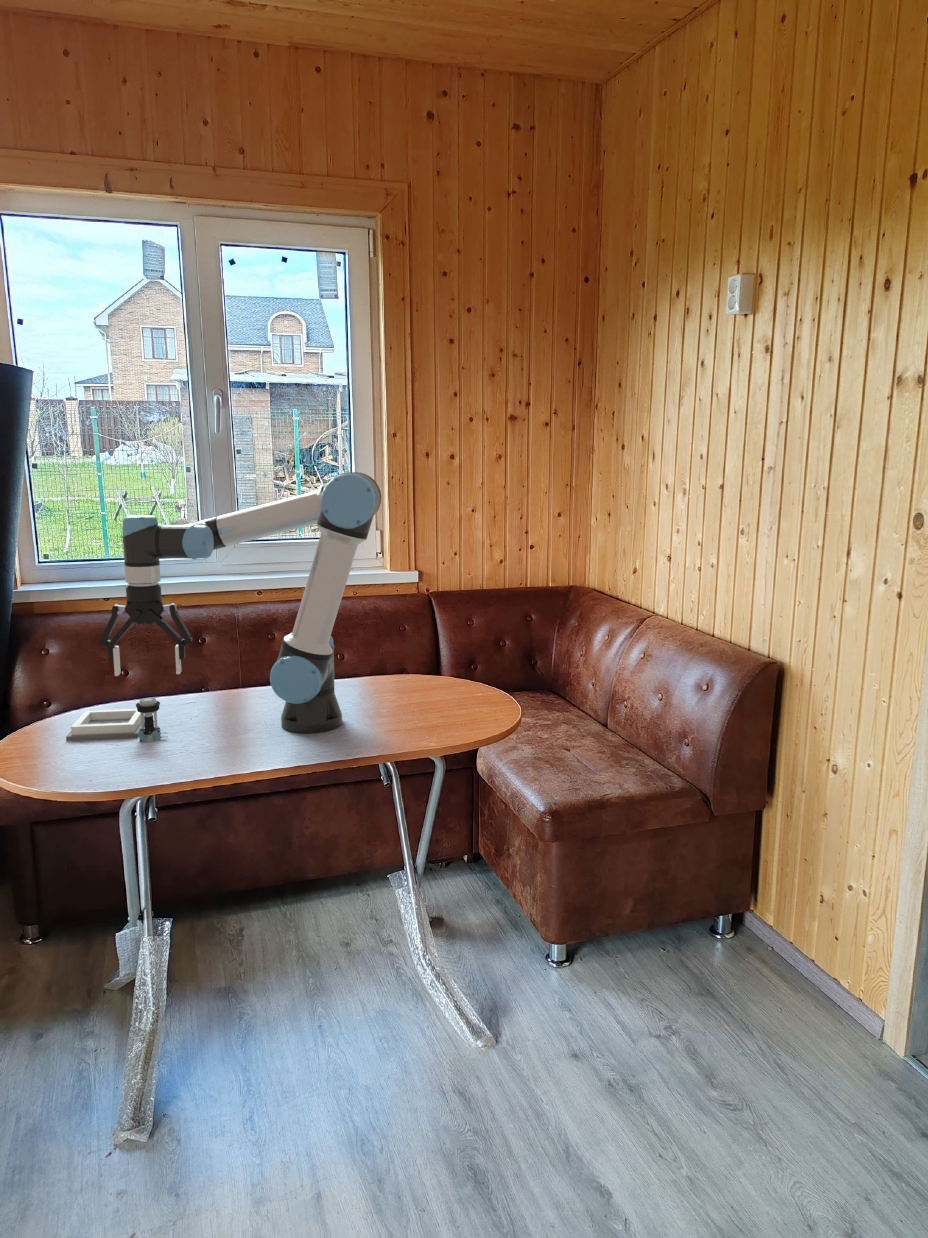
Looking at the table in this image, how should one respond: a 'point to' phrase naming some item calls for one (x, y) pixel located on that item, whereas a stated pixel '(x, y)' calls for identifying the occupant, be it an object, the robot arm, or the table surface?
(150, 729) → the push button
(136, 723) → the socket plate
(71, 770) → the table surface
